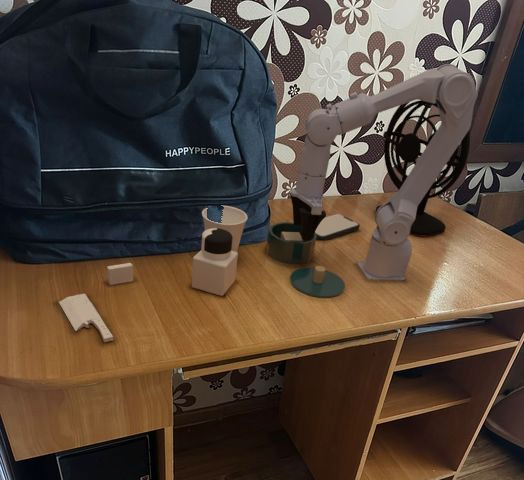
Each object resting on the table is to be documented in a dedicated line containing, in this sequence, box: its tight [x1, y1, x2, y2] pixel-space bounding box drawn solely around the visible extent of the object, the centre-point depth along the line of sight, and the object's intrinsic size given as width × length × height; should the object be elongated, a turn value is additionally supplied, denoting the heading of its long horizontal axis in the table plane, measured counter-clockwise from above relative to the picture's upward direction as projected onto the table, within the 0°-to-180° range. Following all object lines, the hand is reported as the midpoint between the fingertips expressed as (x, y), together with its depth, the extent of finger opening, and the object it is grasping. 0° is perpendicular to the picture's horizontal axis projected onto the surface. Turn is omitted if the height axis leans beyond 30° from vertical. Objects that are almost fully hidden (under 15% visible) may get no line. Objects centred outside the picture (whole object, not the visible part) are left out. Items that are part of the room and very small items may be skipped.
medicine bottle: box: [191, 228, 239, 297], centre depth 103 cm, size 7×7×12 cm
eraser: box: [106, 262, 134, 286], centre depth 102 cm, size 1×5×4 cm, turn 121°
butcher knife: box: [58, 293, 114, 343], centre depth 91 cm, size 5×15×1 cm, turn 33°
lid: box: [289, 265, 346, 299], centre depth 111 cm, size 12×12×4 cm
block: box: [280, 232, 304, 243], centre depth 120 cm, size 4×4×5 cm
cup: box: [201, 205, 248, 253], centre depth 112 cm, size 10×10×11 cm
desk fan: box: [375, 100, 471, 237], centre depth 137 cm, size 27×18×35 cm, turn 34°
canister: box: [265, 221, 317, 265], centre depth 120 cm, size 11×11×6 cm
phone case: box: [315, 213, 360, 242], centre depth 136 cm, size 9×2×16 cm
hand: (302, 231), depth 114 cm, fingers open, 7 cm apart
